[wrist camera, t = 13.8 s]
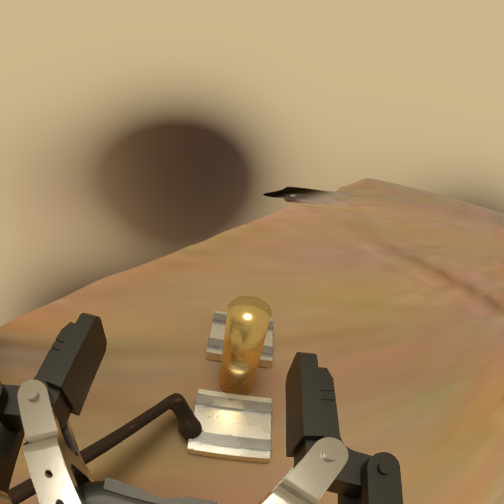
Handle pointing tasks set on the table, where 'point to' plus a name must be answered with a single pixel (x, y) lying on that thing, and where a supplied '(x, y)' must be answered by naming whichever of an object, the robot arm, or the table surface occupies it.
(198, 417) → the metal plates
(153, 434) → the table surface
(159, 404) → the wrench
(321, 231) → the table surface
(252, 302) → the link pin
